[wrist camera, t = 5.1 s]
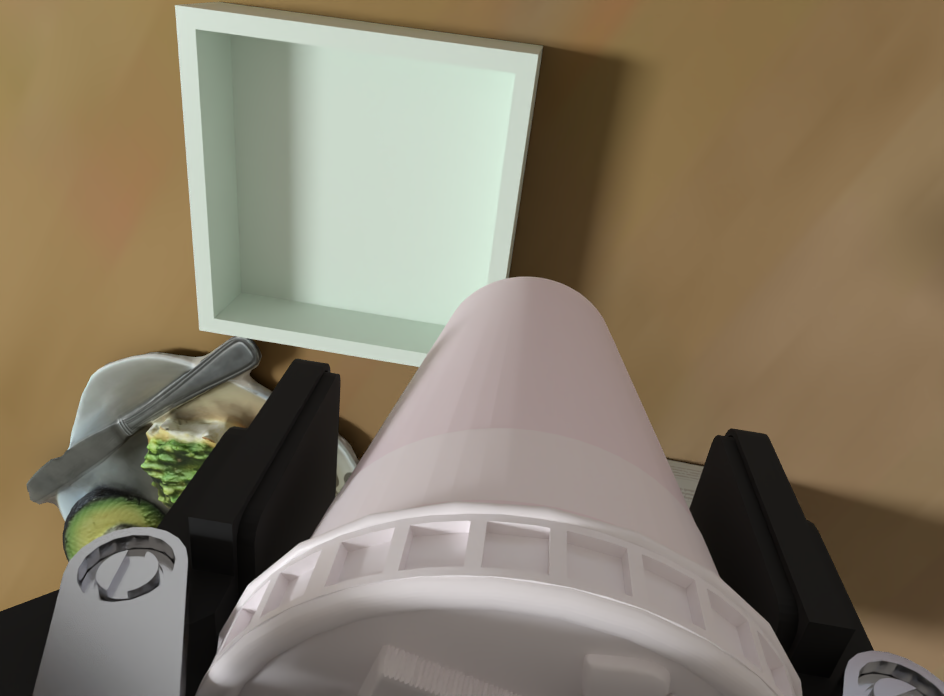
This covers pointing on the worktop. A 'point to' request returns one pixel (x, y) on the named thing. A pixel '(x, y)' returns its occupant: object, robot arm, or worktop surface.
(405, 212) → the bin
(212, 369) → the avocado toast plate
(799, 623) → the robot arm
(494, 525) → the smoothie
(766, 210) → the worktop surface
